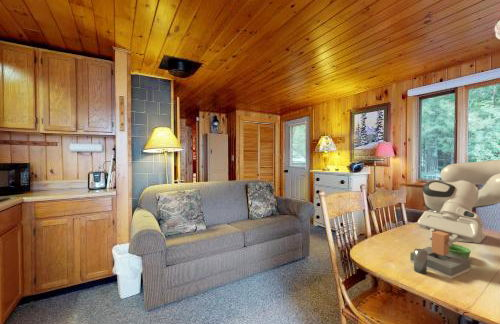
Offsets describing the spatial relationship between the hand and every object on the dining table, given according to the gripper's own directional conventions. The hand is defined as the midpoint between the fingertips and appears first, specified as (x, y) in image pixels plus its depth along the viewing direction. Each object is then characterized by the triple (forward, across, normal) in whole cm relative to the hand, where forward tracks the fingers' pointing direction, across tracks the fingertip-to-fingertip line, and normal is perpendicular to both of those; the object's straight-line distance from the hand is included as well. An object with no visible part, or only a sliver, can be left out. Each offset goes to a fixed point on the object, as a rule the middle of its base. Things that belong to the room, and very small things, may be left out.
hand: (439, 242), depth 93 cm
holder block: (+7, 0, +7) cm, 10 cm away
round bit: (+14, -1, 0) cm, 14 cm away
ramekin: (-4, -1, +18) cm, 19 cm away
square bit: (+3, 0, +4) cm, 4 cm away
